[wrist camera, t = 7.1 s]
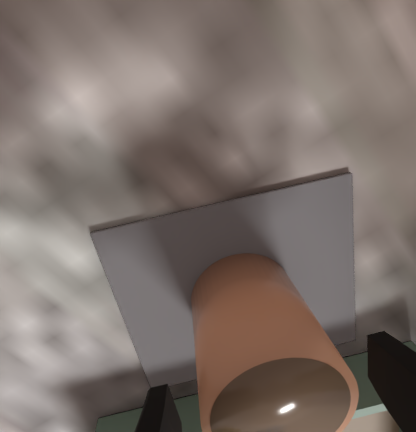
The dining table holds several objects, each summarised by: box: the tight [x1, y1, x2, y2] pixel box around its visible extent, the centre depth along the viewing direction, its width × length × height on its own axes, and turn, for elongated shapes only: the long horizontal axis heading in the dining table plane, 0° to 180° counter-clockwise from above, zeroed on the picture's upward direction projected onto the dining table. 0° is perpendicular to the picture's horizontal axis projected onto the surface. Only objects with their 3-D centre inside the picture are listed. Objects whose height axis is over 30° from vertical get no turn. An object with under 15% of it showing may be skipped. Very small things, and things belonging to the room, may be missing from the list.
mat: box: [90, 172, 356, 388], centre depth 15 cm, size 12×10×1 cm
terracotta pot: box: [191, 253, 359, 432], centre depth 12 cm, size 5×5×6 cm
